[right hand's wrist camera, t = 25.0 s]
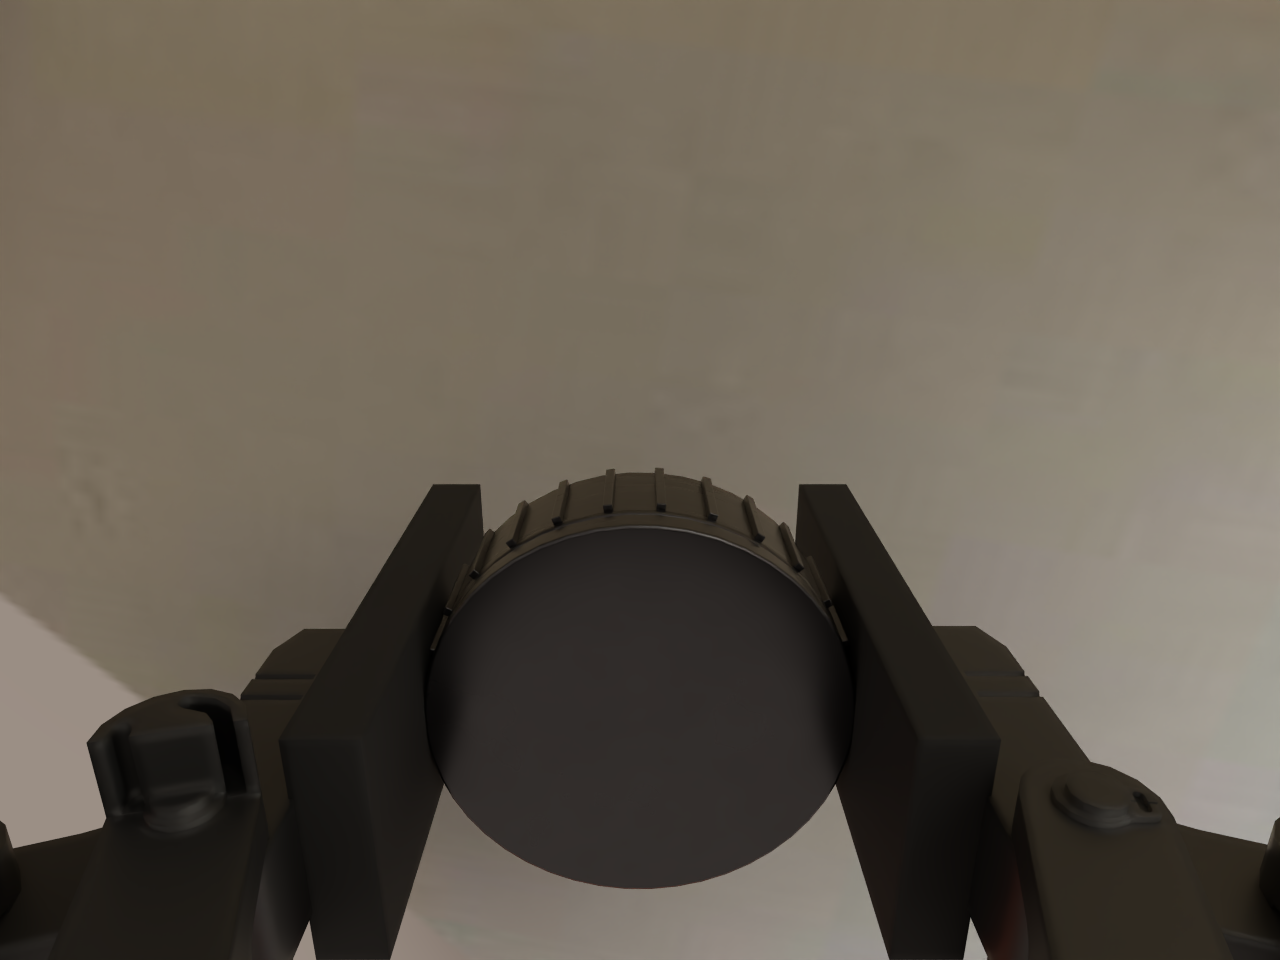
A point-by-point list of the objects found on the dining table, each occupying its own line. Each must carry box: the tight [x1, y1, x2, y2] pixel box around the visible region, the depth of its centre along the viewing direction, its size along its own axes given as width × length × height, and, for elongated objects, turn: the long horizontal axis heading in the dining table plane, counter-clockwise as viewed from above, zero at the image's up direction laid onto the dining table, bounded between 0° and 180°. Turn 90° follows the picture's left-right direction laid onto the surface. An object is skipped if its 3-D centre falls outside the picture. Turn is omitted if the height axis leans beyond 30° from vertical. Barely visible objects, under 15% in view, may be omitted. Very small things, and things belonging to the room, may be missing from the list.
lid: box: [424, 468, 856, 889], centre depth 11 cm, size 5×5×2 cm
